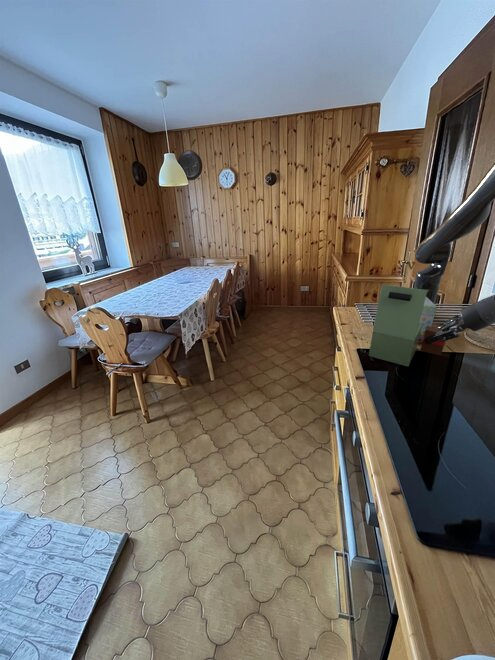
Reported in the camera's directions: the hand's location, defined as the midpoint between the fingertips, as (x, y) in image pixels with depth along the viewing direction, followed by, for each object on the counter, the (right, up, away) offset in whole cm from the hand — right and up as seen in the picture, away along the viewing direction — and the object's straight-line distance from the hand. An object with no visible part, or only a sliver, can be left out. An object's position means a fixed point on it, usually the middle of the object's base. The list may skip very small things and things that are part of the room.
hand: (427, 339), depth 95 cm
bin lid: (-12, +9, -5) cm, 16 cm away
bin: (-8, -5, +7) cm, 12 cm away
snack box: (+6, +2, +20) cm, 21 cm away
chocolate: (+2, -4, +1) cm, 5 cm away
